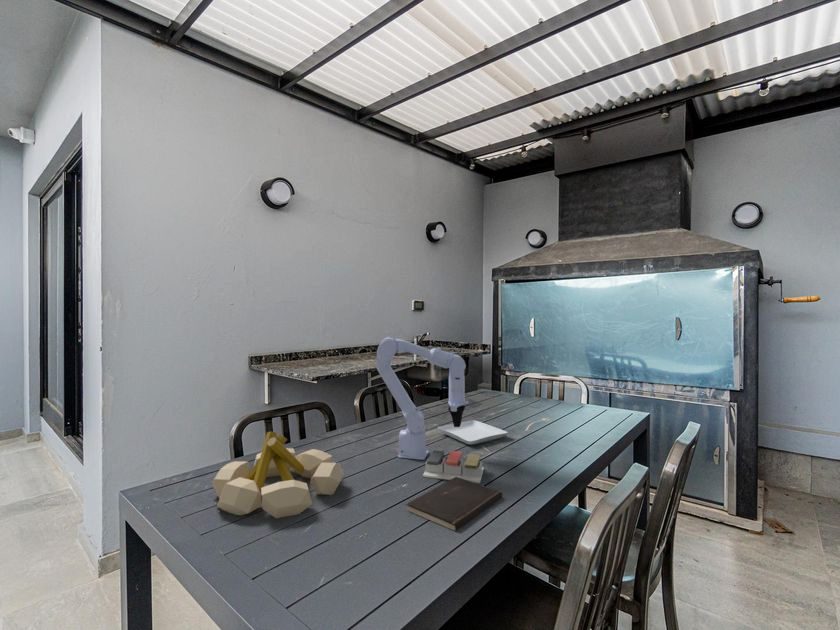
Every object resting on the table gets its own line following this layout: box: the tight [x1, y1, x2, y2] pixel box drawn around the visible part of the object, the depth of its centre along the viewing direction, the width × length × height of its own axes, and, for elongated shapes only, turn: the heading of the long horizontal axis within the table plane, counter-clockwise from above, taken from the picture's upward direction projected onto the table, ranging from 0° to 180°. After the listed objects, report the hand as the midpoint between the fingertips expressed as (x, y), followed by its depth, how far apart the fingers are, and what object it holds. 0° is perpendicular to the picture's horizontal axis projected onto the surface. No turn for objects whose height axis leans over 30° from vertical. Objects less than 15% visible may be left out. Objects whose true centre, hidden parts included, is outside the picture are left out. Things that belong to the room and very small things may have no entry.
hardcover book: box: [405, 477, 503, 532], centre depth 114 cm, size 16×23×2 cm
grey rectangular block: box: [426, 450, 445, 465], centre depth 136 cm, size 4×10×4 cm, turn 166°
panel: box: [422, 457, 485, 484], centre depth 135 cm, size 18×11×3 cm, turn 76°
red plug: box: [446, 450, 463, 466], centre depth 135 cm, size 4×10×4 cm, turn 165°
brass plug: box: [465, 453, 481, 469], centre depth 133 cm, size 4×10×4 cm, turn 165°
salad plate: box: [437, 419, 509, 446], centre depth 172 cm, size 21×21×3 cm
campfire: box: [211, 431, 345, 519], centre depth 121 cm, size 35×34×17 cm
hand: (457, 426), depth 151 cm, fingers closed
